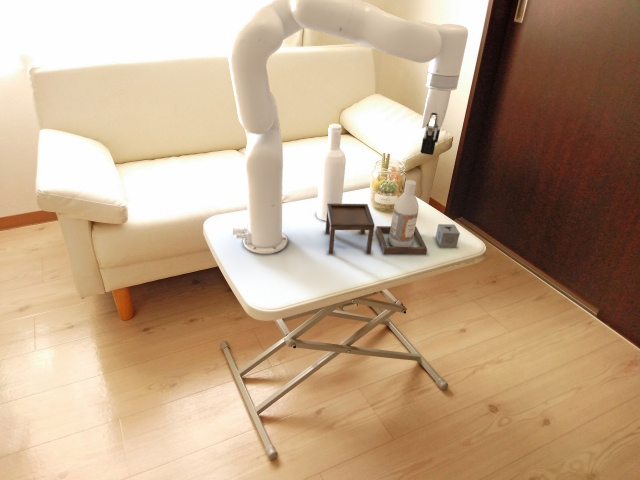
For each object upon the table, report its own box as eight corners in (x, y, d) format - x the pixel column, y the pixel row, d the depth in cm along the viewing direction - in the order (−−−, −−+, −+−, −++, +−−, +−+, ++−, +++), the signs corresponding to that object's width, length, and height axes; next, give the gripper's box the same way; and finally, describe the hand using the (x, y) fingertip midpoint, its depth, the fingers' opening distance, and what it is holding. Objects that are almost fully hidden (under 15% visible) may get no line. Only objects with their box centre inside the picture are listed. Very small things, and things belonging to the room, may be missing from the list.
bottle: (341, 222, 144) (349, 130, 128) (316, 221, 144) (321, 129, 127) (340, 210, 150) (348, 121, 134) (316, 208, 150) (322, 120, 134)
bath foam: (399, 251, 131) (410, 189, 121) (383, 240, 136) (393, 179, 125) (416, 245, 135) (428, 184, 124) (400, 234, 140) (411, 174, 129)
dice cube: (451, 238, 139) (454, 224, 136) (456, 247, 135) (459, 233, 132) (435, 238, 139) (438, 224, 136) (439, 247, 135) (443, 233, 132)
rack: (328, 254, 128) (331, 224, 123) (325, 231, 139) (327, 203, 133) (426, 254, 131) (432, 225, 126) (415, 231, 141) (420, 204, 136)
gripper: (431, 71, 118) (419, 134, 127) (421, 86, 104) (409, 156, 114) (460, 75, 116) (446, 139, 126) (454, 90, 102) (439, 161, 112)
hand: (429, 147), depth 120 cm, fingers open, 9 cm apart
